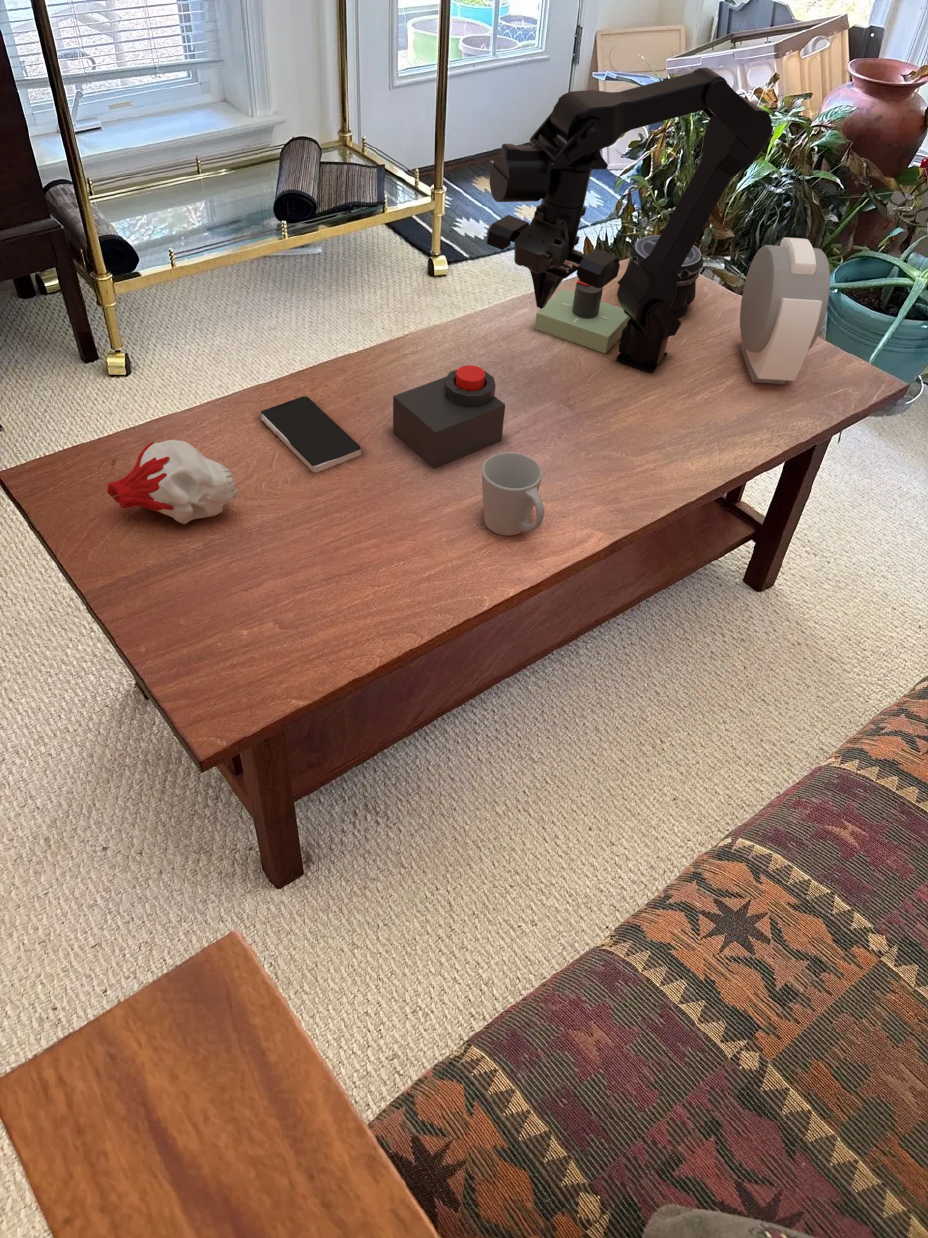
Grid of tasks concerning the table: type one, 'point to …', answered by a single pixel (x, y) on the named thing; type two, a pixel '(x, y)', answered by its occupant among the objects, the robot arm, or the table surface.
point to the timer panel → (582, 323)
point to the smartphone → (310, 433)
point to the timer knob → (586, 300)
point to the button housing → (448, 419)
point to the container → (685, 274)
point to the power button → (470, 378)
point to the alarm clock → (783, 308)
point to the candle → (175, 482)
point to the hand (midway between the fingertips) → (540, 307)
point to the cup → (511, 493)
